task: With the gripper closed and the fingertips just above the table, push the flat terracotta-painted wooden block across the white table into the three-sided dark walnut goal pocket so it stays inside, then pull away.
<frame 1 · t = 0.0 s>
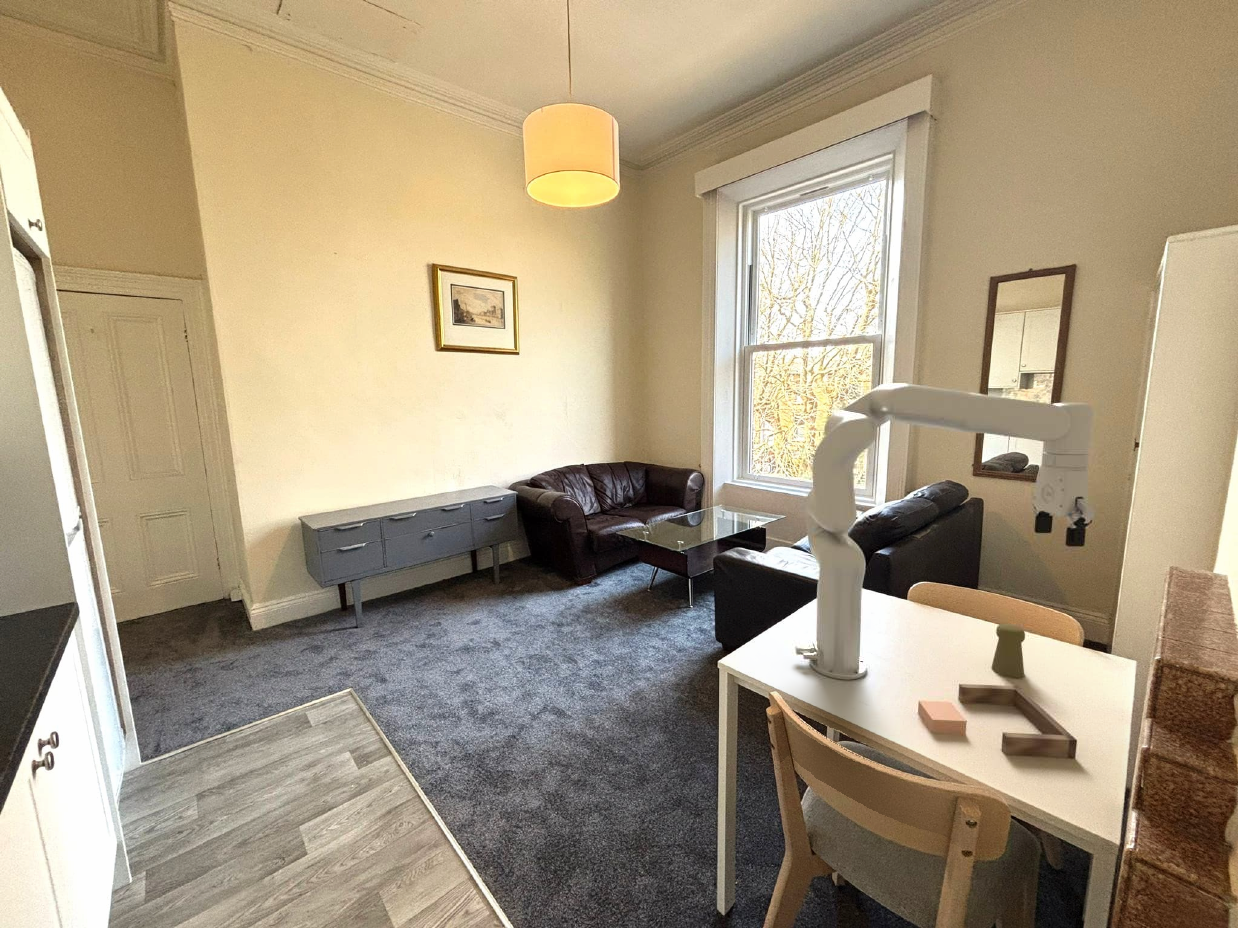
hand: (1058, 539, 111), 31 cm above the table, tool pointing down, fingers open, 9 cm apart
cork: (1007, 672, 117), on the table
goal pocket: (1008, 725, 99), on the table
terracotta block: (940, 724, 100), on the table
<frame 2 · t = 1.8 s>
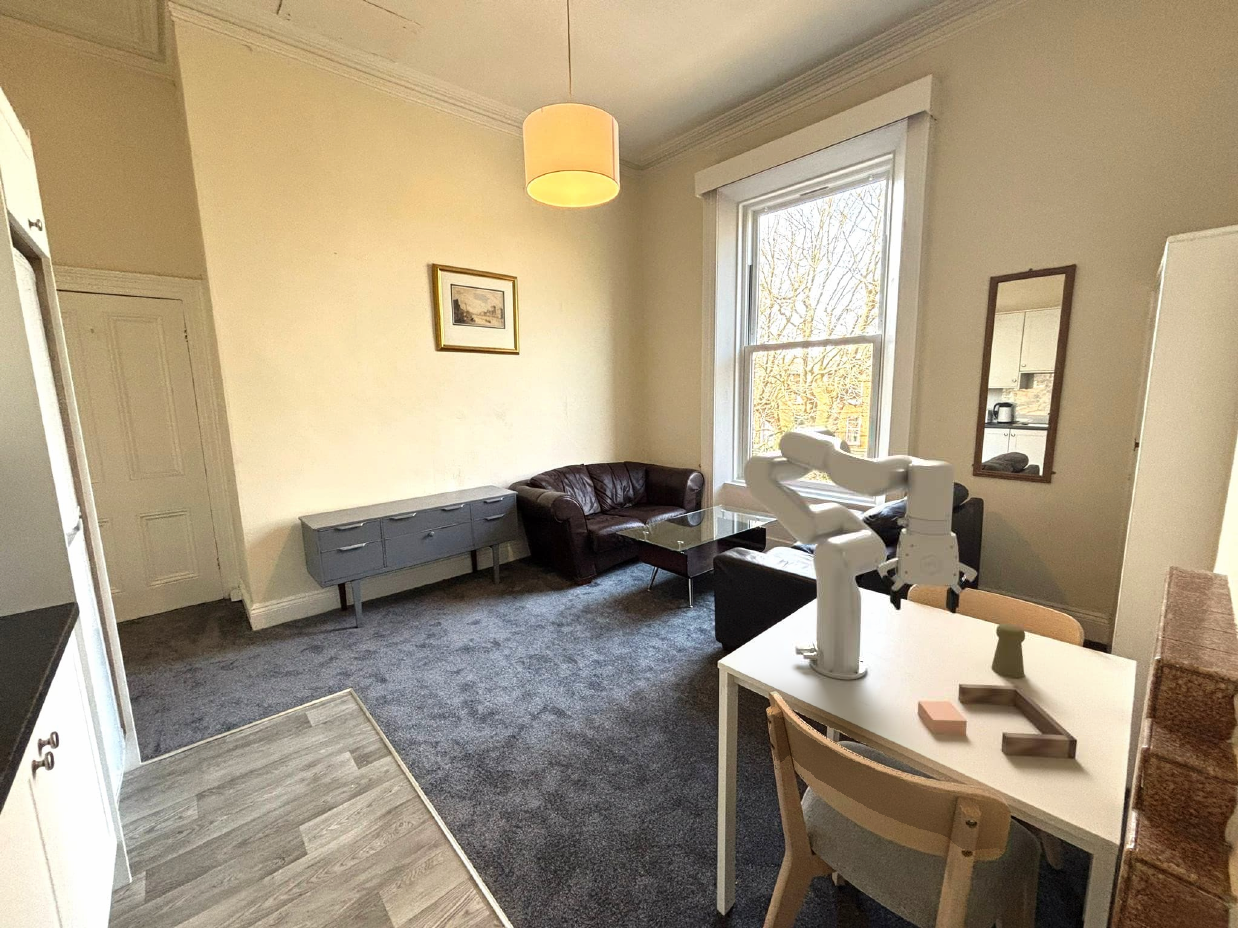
hand: (923, 608, 101), 22 cm above the table, tool pointing down, fingers open, 9 cm apart
nothing on the table moved.
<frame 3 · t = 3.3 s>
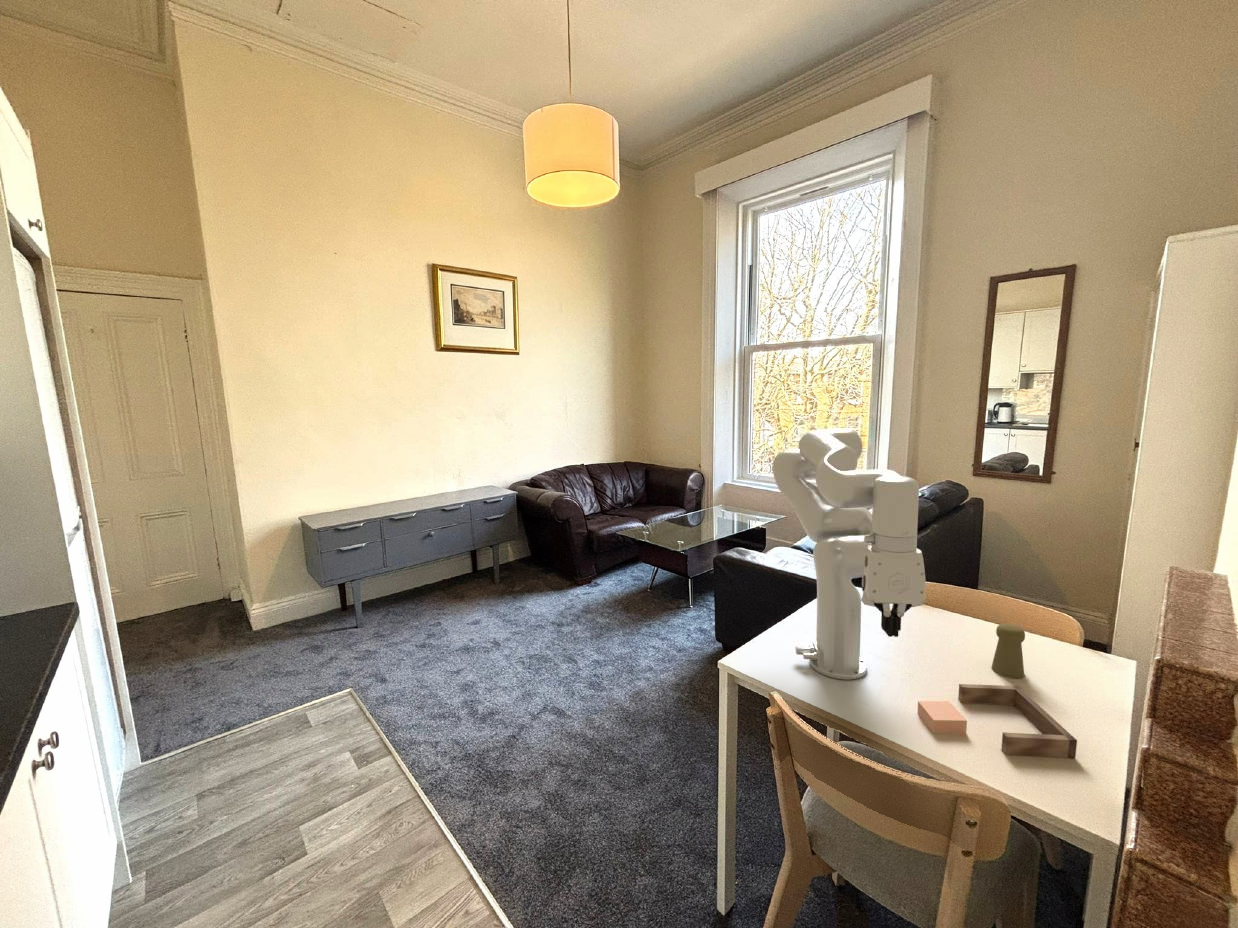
hand: (890, 633, 99), 19 cm above the table, tool pointing down, fingers closed
nothing on the table moved.
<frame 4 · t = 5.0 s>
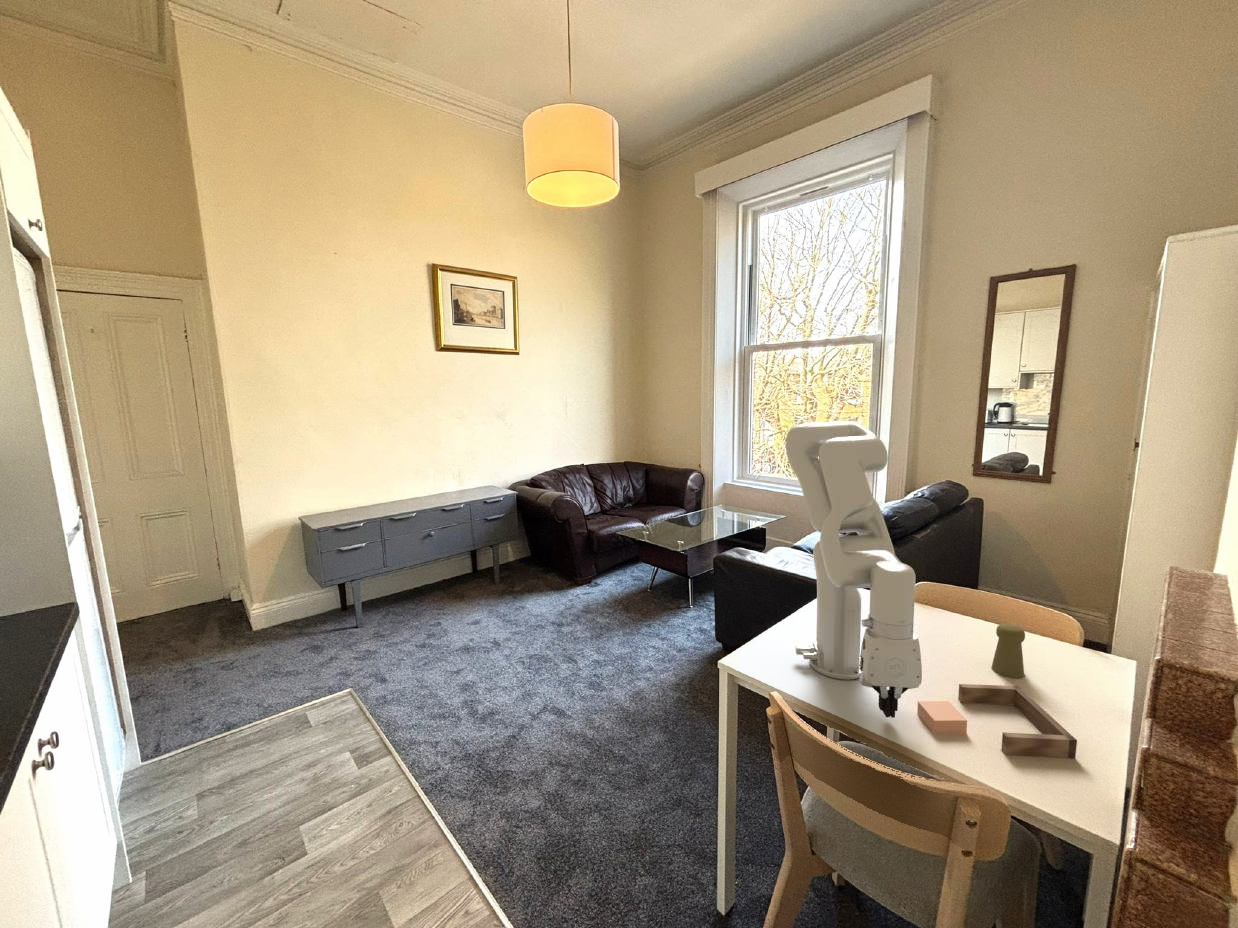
hand: (887, 712, 101), 2 cm above the table, tool pointing down, fingers closed
nothing on the table moved.
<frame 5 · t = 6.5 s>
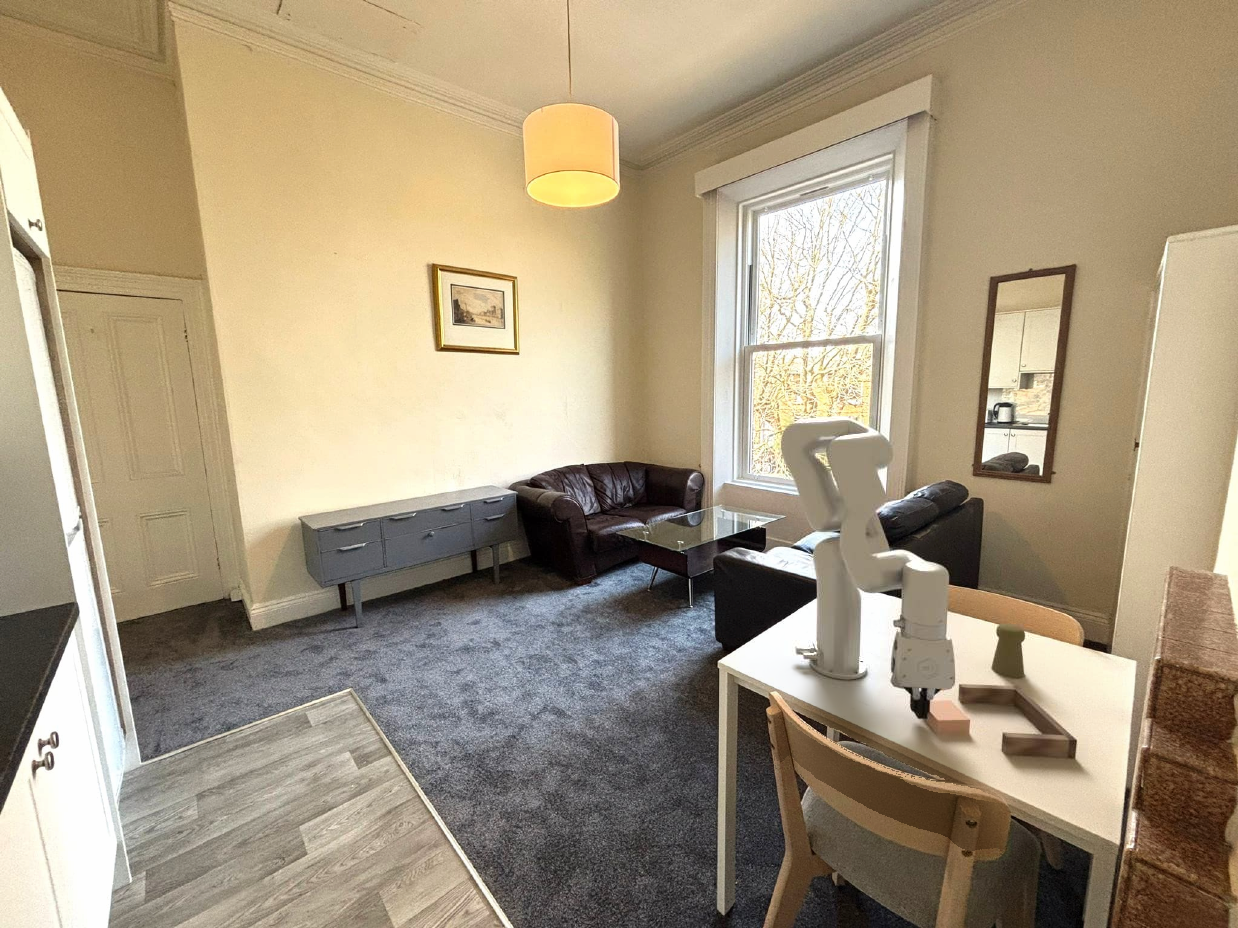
hand: (919, 714, 100), 2 cm above the table, tool pointing down, fingers closed
terracotta block: (943, 723, 100), on the table, touching gripper
everything else where it was.
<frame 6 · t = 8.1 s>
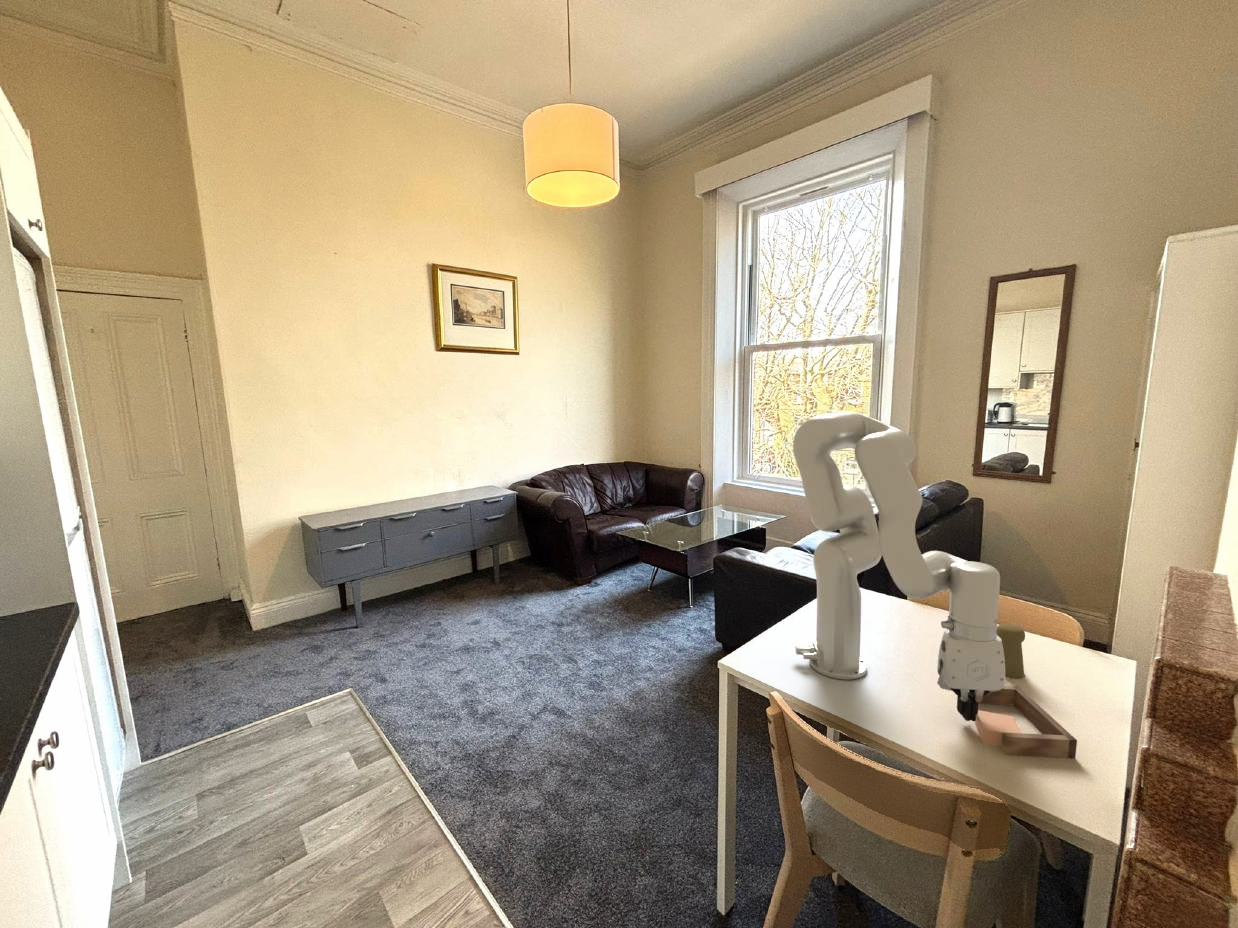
hand: (966, 716, 99), 2 cm above the table, tool pointing down, fingers closed
terracotta block: (997, 737, 96), on the table
everything else where it was.
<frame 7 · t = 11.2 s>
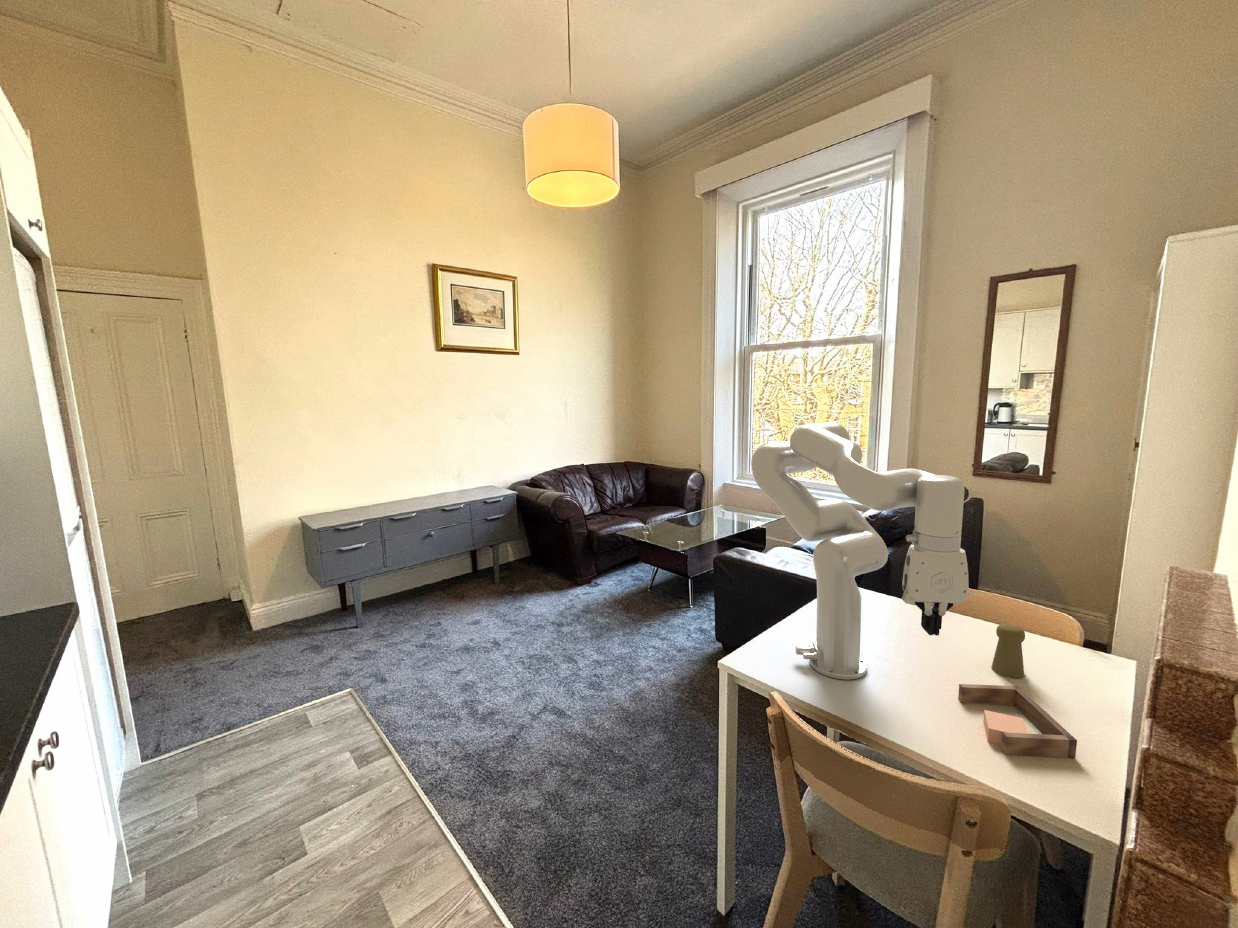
hand: (930, 631, 99), 18 cm above the table, tool pointing down, fingers closed
terracotta block: (1004, 737, 96), on the table
everything else where it was.
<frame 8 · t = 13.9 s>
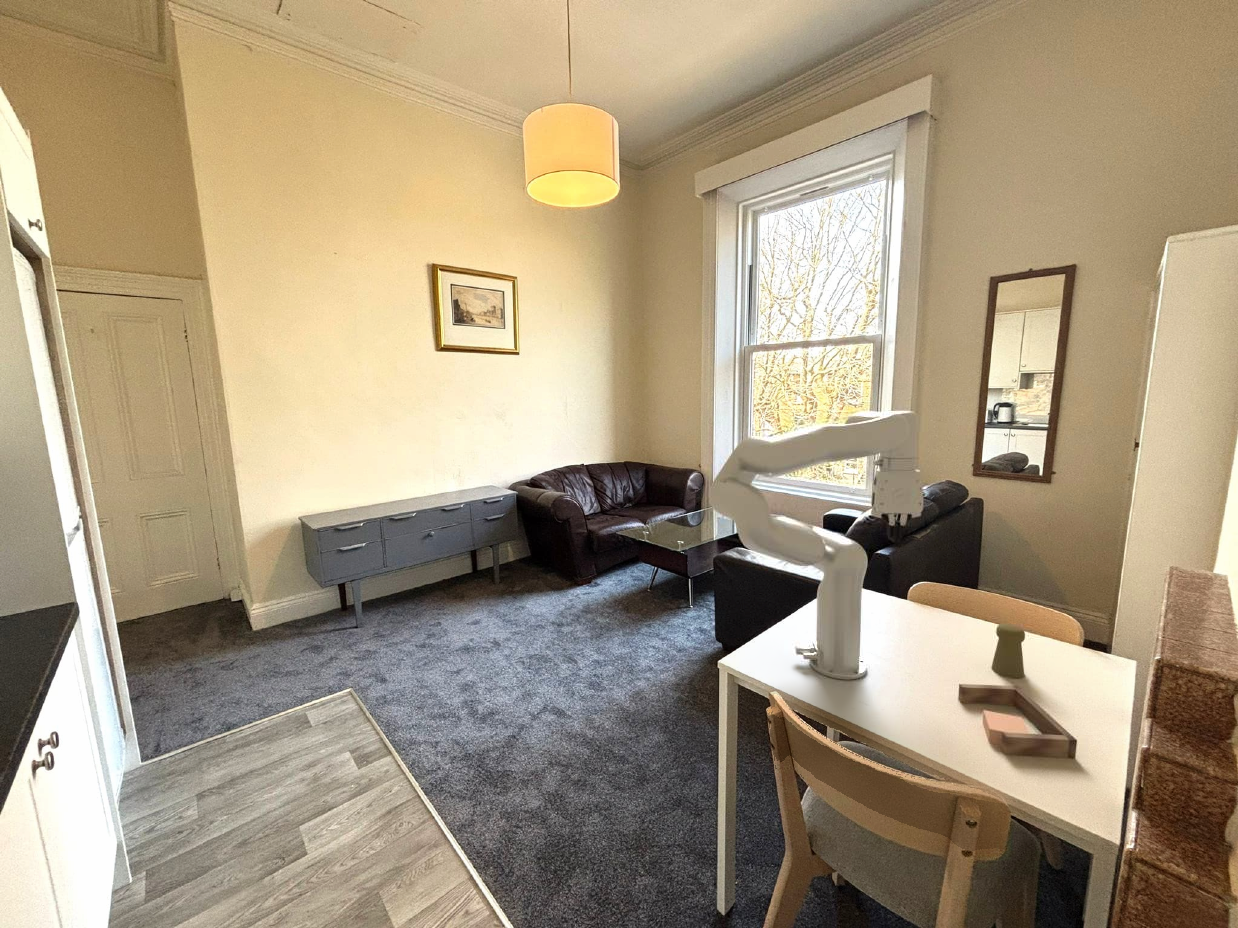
hand: (894, 540, 121), 29 cm above the table, tool pointing down, fingers closed
nothing on the table moved.
at the end: terracotta block 4.0 cm off-centre on the goal pocket, point 0.0 cm above the goal pocket's base; terracotta block tilted 0°; the gripper is holding nothing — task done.
